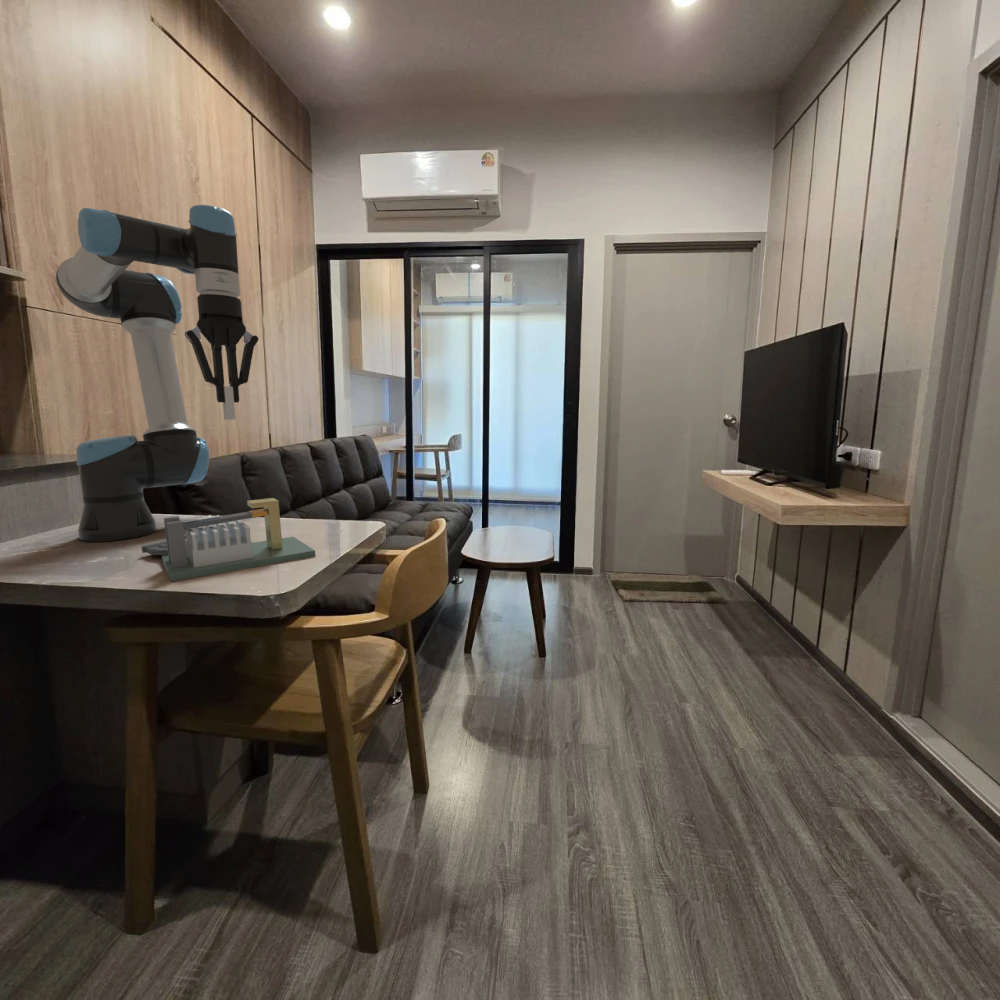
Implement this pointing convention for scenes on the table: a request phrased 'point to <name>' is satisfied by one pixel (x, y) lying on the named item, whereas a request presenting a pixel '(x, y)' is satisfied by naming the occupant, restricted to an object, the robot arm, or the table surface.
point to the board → (258, 560)
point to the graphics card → (159, 548)
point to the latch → (270, 521)
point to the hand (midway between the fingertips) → (229, 419)
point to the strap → (224, 519)
